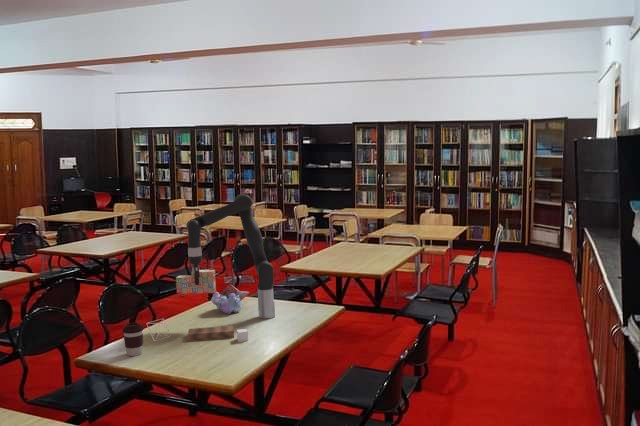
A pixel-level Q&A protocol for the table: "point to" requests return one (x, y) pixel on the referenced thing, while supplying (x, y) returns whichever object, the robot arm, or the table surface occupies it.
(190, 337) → the walnut plinth
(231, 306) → the lumpy periwinkle toy figure
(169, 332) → the geometric polyhedron
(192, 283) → the stack of blocks
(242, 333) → the pale grey cube
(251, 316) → the table surface
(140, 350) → the coffee cup
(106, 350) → the table surface
